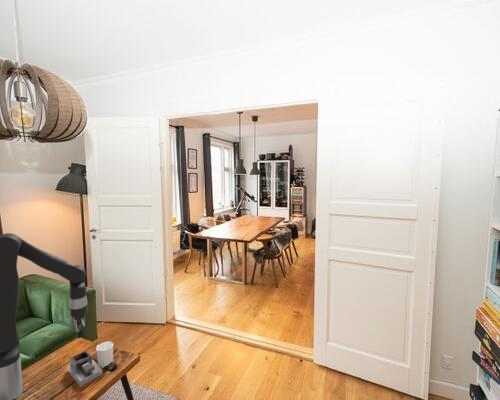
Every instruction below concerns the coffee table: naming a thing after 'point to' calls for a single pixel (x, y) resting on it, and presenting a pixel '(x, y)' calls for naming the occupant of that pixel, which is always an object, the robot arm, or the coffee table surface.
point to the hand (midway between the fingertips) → (79, 336)
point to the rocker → (88, 367)
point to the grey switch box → (78, 373)
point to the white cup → (104, 353)
